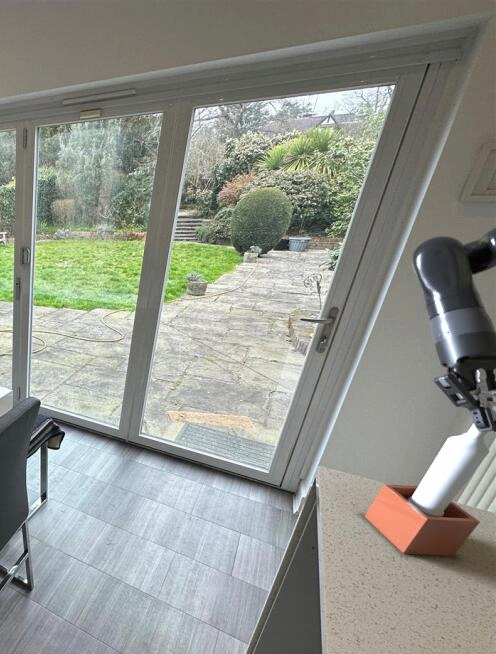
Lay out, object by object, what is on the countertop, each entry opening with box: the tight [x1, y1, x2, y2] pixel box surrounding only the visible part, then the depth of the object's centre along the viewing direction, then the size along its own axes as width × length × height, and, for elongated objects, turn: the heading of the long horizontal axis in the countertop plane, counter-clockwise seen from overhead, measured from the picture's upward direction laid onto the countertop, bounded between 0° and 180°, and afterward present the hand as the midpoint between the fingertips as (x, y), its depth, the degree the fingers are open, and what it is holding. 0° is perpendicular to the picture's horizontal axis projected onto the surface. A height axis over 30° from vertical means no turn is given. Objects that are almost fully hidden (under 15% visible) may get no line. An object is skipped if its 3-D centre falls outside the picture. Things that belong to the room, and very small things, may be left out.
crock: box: [364, 483, 481, 557], centre depth 81 cm, size 10×10×9 cm
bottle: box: [408, 400, 496, 517], centre depth 75 cm, size 5×5×25 cm
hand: (495, 430), depth 69 cm, fingers closed on bottle, 2 cm apart
